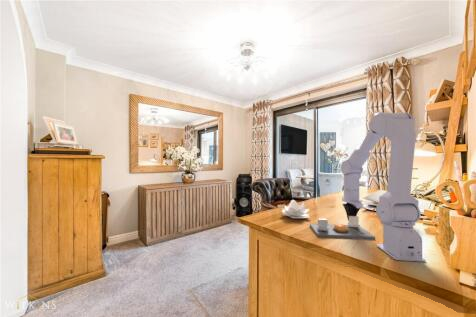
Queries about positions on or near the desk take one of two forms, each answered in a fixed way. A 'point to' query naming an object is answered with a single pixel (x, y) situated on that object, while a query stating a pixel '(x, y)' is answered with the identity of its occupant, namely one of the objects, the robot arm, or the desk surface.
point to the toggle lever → (353, 221)
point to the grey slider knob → (322, 225)
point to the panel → (351, 232)
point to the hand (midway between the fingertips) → (351, 221)
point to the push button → (340, 227)
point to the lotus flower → (296, 210)
